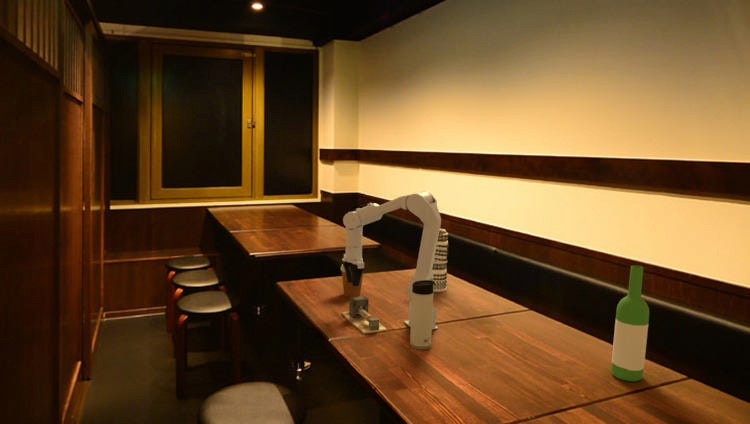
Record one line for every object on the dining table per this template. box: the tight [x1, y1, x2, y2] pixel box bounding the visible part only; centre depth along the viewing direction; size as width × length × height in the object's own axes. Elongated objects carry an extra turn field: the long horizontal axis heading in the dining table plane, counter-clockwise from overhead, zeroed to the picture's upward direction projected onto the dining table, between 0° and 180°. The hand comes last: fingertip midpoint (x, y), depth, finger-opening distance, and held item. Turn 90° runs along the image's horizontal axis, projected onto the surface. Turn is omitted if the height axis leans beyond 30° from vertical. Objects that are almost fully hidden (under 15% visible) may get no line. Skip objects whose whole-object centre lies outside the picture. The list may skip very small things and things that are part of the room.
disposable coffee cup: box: [340, 264, 365, 298], centre depth 207 cm, size 10×10×12 cm
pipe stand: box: [341, 301, 387, 334], centre depth 177 cm, size 20×8×4 cm, turn 23°
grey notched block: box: [349, 295, 370, 318], centre depth 181 cm, size 3×6×6 cm, turn 114°
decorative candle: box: [432, 227, 450, 293], centre depth 217 cm, size 9×9×25 cm
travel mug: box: [409, 280, 435, 351], centre depth 157 cm, size 6×7×20 cm
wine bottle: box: [610, 264, 650, 383], centre depth 139 cm, size 8×8×30 cm
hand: (353, 284), depth 185 cm, fingers open, 4 cm apart
